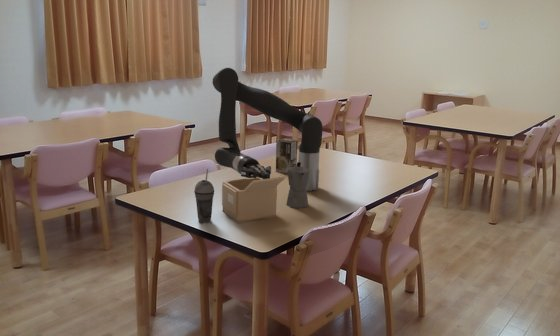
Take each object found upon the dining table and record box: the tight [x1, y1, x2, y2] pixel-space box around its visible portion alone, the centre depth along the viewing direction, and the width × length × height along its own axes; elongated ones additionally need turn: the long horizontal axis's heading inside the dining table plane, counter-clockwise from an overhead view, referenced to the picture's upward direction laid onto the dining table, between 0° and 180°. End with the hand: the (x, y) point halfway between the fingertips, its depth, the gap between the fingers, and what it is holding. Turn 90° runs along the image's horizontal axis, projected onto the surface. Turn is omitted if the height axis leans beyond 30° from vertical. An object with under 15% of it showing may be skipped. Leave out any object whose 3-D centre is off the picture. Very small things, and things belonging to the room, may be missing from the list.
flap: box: [244, 175, 286, 192], centre depth 182 cm, size 1×13×9 cm
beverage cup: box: [193, 168, 215, 224], centre depth 184 cm, size 7×7×20 cm
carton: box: [221, 177, 278, 224], centre depth 194 cm, size 15×18×12 cm
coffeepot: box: [286, 161, 310, 209], centre depth 206 cm, size 15×9×18 cm, turn 13°
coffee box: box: [275, 138, 298, 174], centre depth 255 cm, size 9×6×16 cm
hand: (267, 177), depth 178 cm, fingers closed
